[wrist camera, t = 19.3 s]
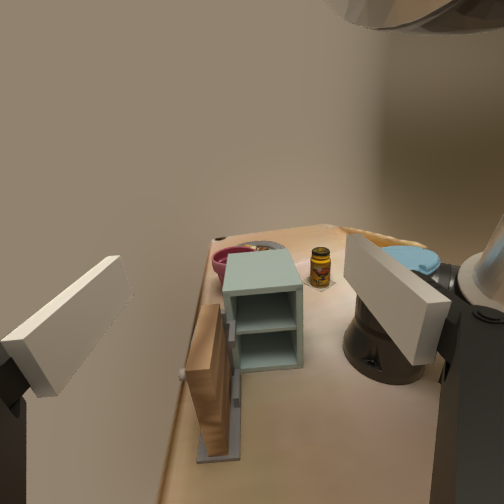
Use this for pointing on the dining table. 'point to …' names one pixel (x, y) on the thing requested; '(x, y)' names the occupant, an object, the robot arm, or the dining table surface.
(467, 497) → the robot arm
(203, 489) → the dining table surface
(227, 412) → the door
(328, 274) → the condiment
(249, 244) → the food plate
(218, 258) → the plant pot
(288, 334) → the cabinet
